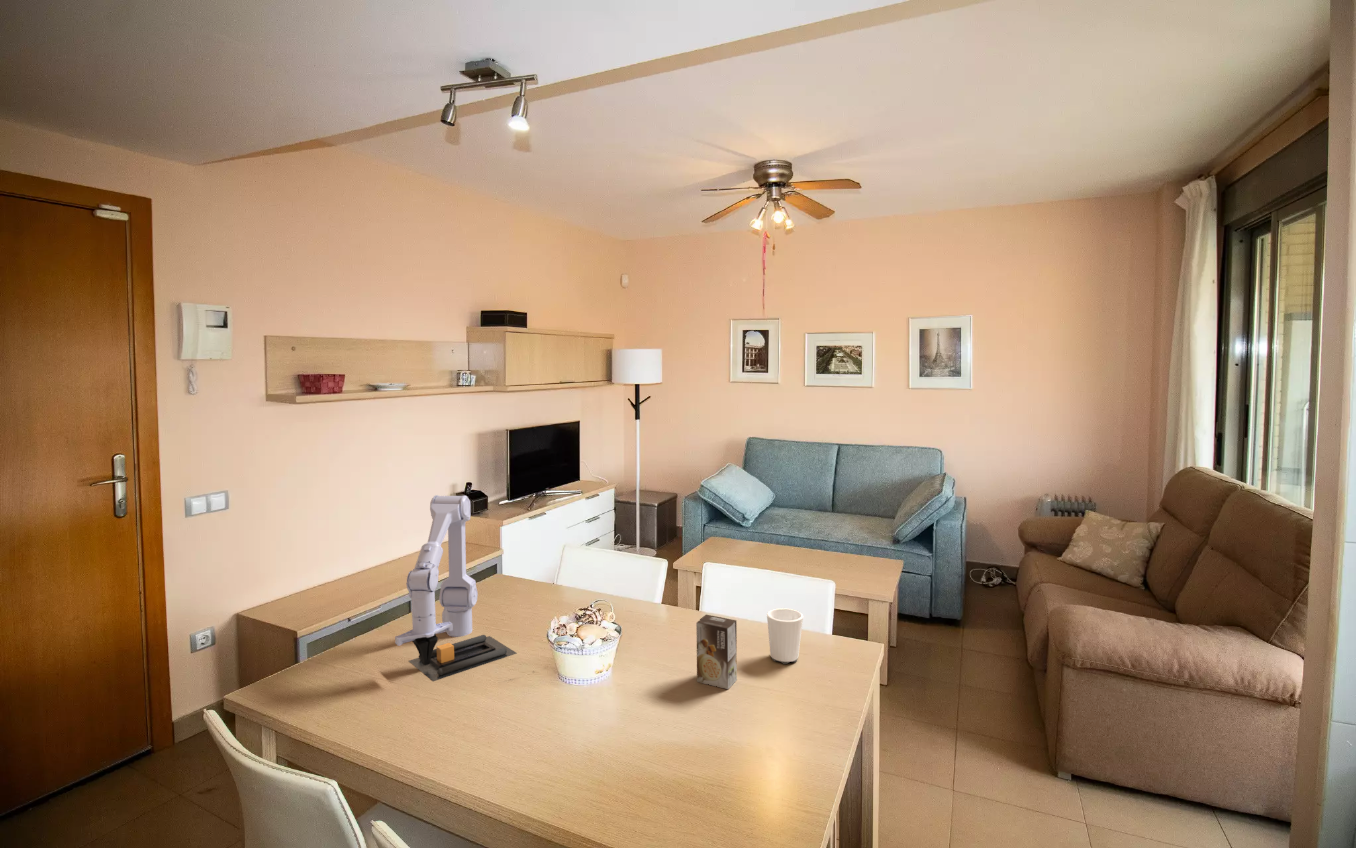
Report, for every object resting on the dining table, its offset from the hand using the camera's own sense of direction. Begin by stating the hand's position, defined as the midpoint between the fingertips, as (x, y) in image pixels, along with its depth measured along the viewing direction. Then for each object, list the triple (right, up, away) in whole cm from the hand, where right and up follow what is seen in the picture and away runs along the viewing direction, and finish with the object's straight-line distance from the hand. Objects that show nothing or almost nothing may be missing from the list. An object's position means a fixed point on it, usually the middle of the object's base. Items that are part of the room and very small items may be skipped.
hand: (425, 663), depth 178 cm
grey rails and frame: (+8, -1, +7) cm, 11 cm away
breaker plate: (+8, -2, +7) cm, 11 cm away
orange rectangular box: (+4, -1, +4) cm, 6 cm away
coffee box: (+77, -4, -3) cm, 77 cm away
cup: (+96, -2, +9) cm, 97 cm away
